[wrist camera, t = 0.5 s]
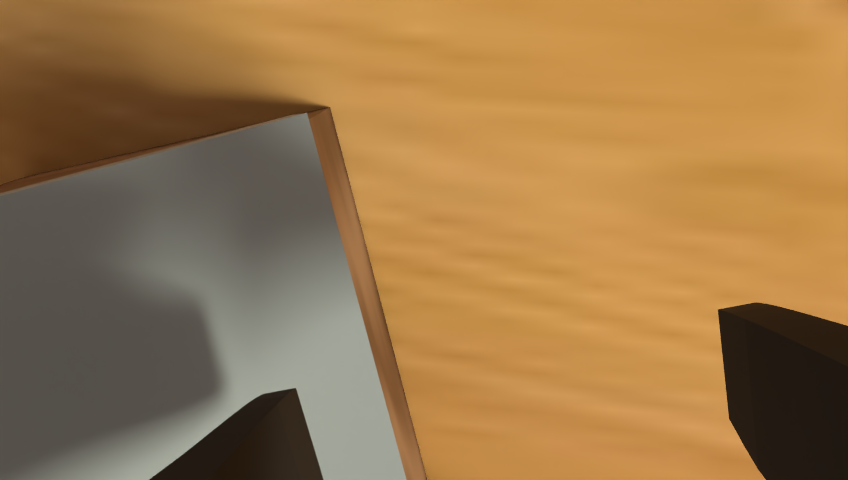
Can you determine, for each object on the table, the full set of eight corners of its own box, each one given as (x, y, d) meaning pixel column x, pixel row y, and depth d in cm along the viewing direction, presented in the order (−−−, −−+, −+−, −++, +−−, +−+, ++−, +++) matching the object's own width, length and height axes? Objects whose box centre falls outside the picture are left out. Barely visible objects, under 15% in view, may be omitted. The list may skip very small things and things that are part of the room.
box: (430, 493, 24) (428, 607, 19) (169, 538, 24) (103, 659, 20) (329, 107, 20) (294, 127, 15) (23, 177, 21) (-103, 218, 16)
